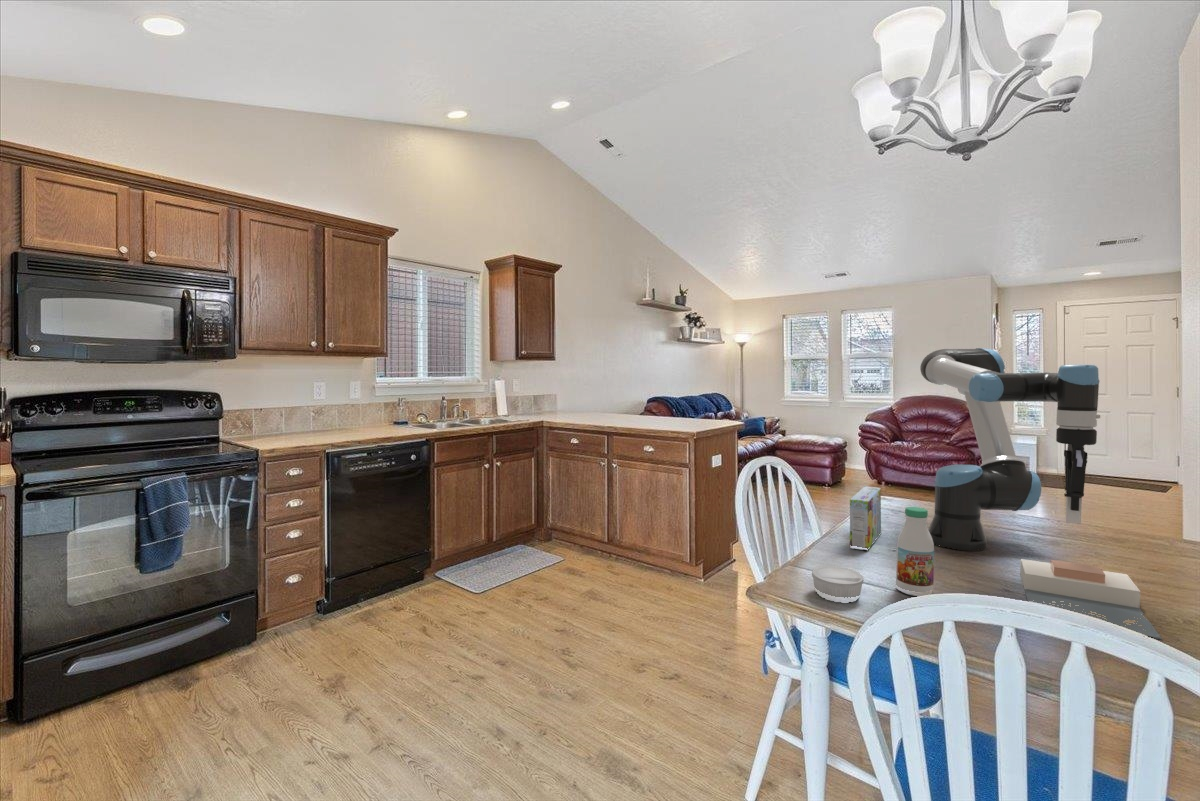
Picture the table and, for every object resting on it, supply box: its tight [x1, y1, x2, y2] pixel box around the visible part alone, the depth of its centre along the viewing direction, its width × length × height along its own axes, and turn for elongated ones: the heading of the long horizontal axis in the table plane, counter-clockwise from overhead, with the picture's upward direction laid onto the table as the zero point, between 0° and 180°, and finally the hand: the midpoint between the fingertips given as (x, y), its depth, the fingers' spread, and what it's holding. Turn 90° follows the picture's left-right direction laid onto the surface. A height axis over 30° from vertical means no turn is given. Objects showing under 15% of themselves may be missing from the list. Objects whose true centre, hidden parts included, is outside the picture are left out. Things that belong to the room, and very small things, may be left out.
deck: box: [1019, 558, 1141, 609], centre depth 132 cm, size 20×12×4 cm, turn 57°
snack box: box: [849, 485, 882, 549], centre depth 170 cm, size 21×6×15 cm, turn 144°
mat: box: [1024, 589, 1162, 640], centre depth 120 cm, size 20×16×1 cm
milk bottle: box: [895, 506, 935, 592], centre depth 131 cm, size 8×8×20 cm
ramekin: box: [811, 565, 865, 598], centre depth 130 cm, size 11×11×5 cm
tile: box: [1050, 559, 1105, 583], centre depth 131 cm, size 9×6×2 cm, turn 57°
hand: (1073, 522), depth 137 cm, fingers closed
